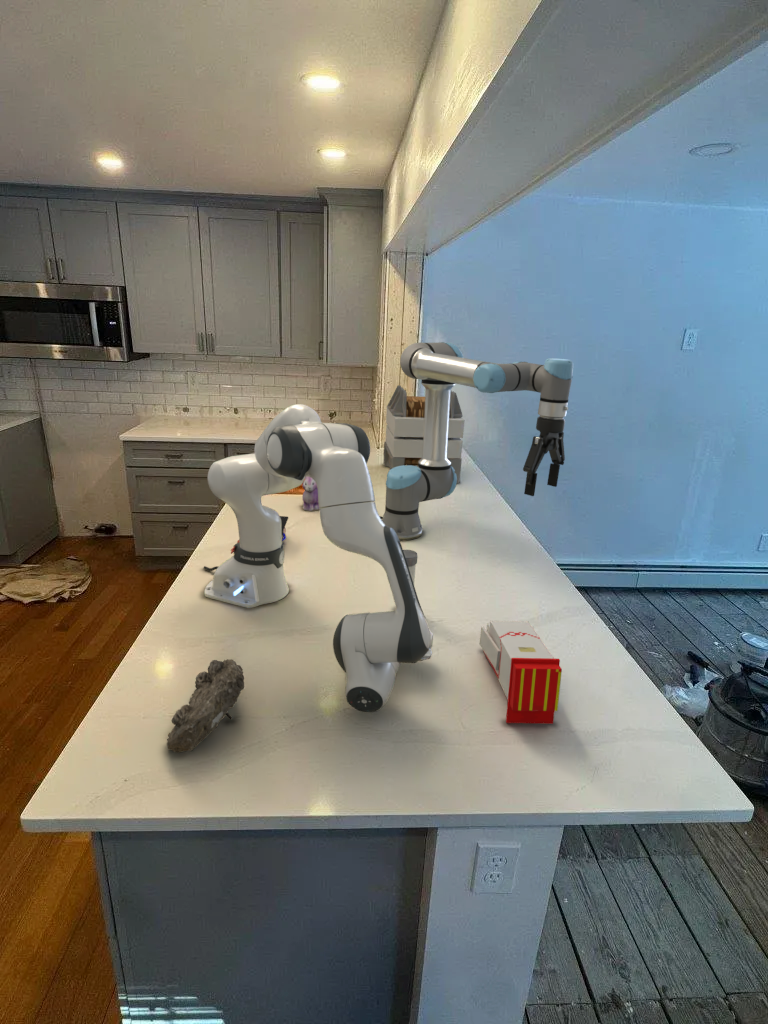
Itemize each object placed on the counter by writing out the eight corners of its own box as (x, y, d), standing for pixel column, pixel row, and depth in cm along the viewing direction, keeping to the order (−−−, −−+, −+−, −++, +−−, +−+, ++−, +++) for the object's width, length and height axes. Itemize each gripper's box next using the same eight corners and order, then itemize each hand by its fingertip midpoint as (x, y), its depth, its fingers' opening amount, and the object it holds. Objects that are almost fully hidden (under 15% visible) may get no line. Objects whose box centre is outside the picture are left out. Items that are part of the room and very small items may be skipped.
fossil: (192, 660, 117) (244, 628, 112) (224, 691, 120) (276, 661, 115) (142, 746, 98) (202, 712, 93) (182, 779, 101) (242, 748, 96)
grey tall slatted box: (382, 463, 289) (386, 382, 275) (445, 464, 293) (451, 384, 279) (390, 482, 257) (394, 392, 243) (460, 483, 261) (468, 394, 247)
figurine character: (283, 556, 181) (289, 533, 194) (282, 535, 178) (288, 514, 191) (262, 555, 181) (269, 533, 194) (260, 534, 177) (268, 513, 191)
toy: (526, 605, 135) (570, 665, 105) (521, 658, 137) (563, 730, 108) (475, 604, 134) (506, 664, 105) (472, 657, 137) (500, 729, 108)
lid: (420, 561, 145) (421, 552, 145) (411, 568, 141) (412, 559, 140) (402, 556, 148) (402, 547, 147) (393, 563, 143) (393, 554, 143)
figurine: (306, 512, 216) (305, 474, 210) (297, 504, 224) (296, 467, 219) (329, 509, 220) (329, 472, 215) (319, 501, 228) (319, 465, 223)
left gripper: (431, 648, 117) (438, 615, 130) (335, 633, 121) (351, 602, 133) (428, 674, 119) (436, 638, 132) (335, 658, 123) (351, 625, 136)
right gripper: (542, 424, 145) (531, 502, 152) (584, 414, 163) (572, 484, 170) (516, 419, 150) (506, 495, 157) (559, 410, 167) (549, 479, 175)
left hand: (393, 620), depth 133 cm, fingers open, 8 cm apart
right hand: (540, 490), depth 164 cm, fingers open, 13 cm apart
